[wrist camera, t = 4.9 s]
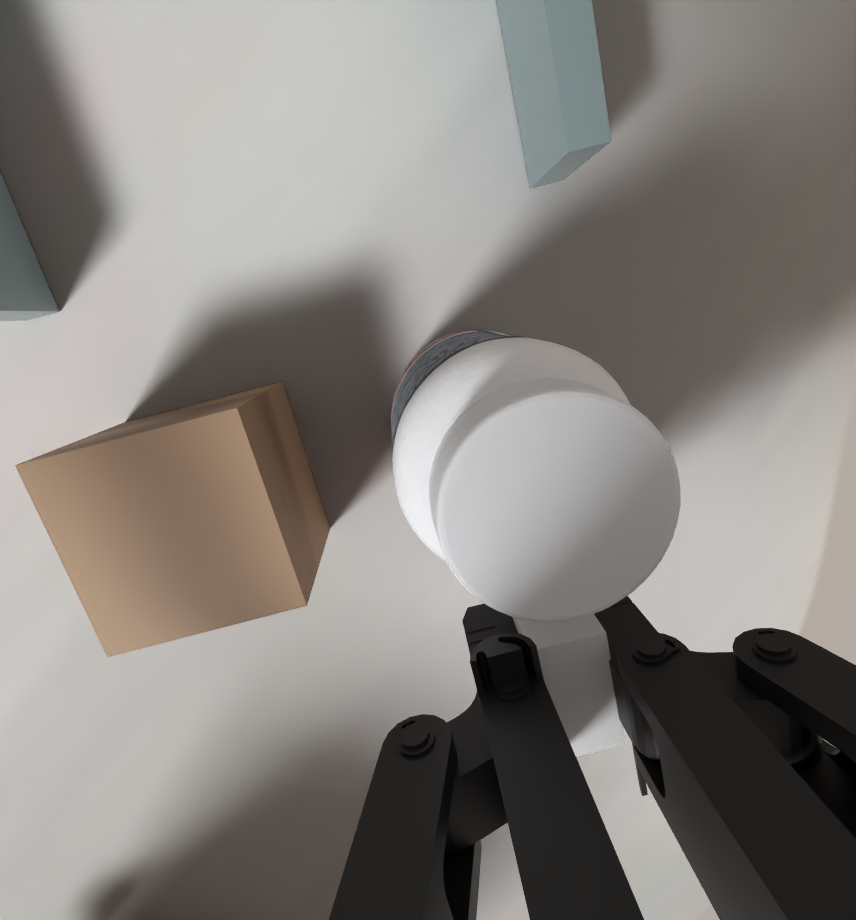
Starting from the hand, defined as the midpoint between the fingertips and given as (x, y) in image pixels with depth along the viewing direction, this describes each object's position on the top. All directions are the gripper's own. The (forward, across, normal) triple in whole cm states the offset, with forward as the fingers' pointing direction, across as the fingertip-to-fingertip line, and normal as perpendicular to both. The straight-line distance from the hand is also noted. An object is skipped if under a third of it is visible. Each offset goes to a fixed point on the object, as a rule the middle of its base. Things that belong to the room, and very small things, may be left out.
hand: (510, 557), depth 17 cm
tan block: (+2, -8, +4) cm, 9 cm away
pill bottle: (+2, 0, +4) cm, 5 cm away
